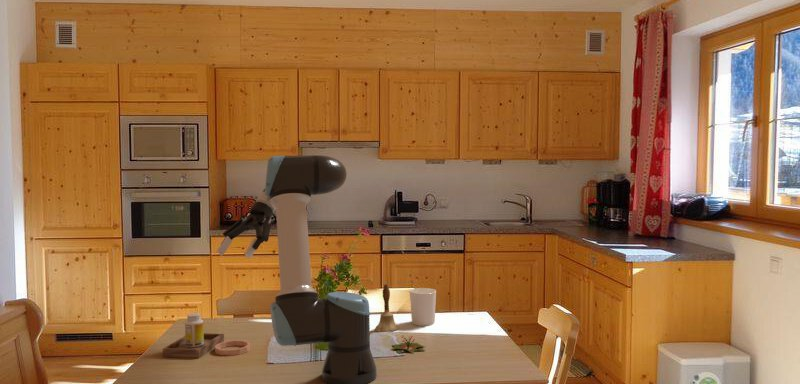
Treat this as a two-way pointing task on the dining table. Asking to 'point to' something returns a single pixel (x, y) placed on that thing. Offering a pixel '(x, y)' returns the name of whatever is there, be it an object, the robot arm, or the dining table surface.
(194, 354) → the walnut tray
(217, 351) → the terracotta ring
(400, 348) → the lily flower
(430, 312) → the candle holder
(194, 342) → the supplement bottle
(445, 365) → the dining table surface
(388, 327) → the hand bell
